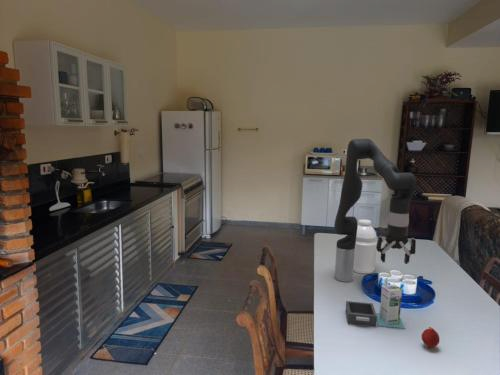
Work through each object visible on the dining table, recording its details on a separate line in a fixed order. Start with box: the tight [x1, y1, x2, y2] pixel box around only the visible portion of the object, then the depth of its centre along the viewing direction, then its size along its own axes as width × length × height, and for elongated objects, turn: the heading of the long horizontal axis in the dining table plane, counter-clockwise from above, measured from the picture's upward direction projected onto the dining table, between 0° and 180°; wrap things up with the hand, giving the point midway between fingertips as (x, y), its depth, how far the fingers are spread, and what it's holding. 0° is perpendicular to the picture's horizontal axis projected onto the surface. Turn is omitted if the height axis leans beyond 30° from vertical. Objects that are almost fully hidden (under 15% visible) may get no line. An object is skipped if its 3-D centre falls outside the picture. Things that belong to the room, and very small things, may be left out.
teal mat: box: [376, 312, 406, 330], centre depth 152 cm, size 10×10×1 cm
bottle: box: [353, 219, 378, 275], centre depth 204 cm, size 14×14×28 cm
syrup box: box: [379, 283, 403, 324], centre depth 151 cm, size 6×6×14 cm
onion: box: [421, 326, 440, 349], centre depth 134 cm, size 6×6×8 cm
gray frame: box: [344, 300, 378, 328], centre depth 153 cm, size 12×11×4 cm
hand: (394, 262), depth 147 cm, fingers open, 8 cm apart
